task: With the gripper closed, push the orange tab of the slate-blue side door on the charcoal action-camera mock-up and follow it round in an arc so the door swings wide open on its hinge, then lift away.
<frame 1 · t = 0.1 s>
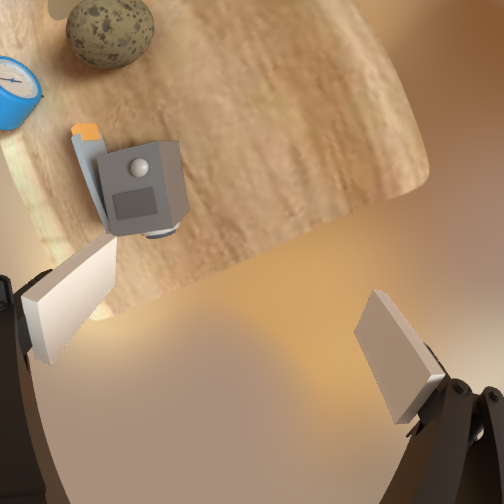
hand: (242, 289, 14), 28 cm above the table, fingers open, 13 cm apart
alarm clock: (30, 93, 34), on the table
camera body: (156, 180, 40), on the table
decorative egg: (131, 44, 32), on the table
side door: (101, 178, 36), point 4 cm above the table, hinge at 12.0°
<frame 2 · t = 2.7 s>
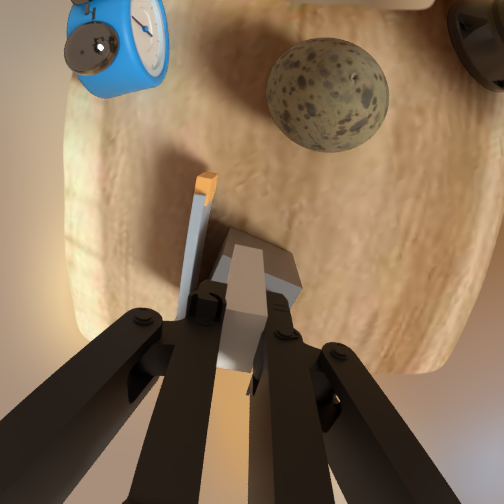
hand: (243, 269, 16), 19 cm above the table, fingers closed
alarm clock: (146, 51, 27), on the table
camera body: (244, 275, 37), on the table
decorative egg: (312, 104, 30), on the table
side door: (195, 249, 32), point 4 cm above the table, hinge at 12.0°
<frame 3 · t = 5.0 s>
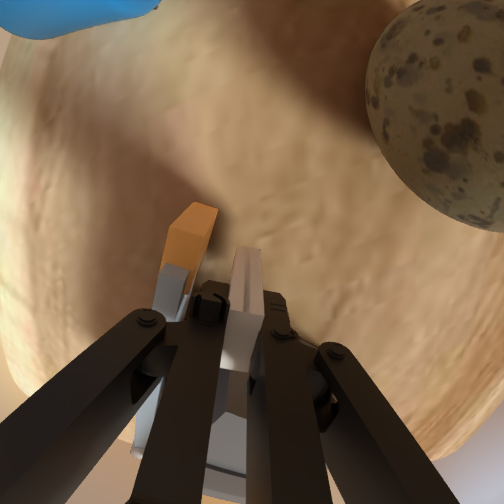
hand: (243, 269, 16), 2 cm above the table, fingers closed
camera body: (246, 374, 22), on the table
decorative egg: (412, 113, 15), on the table
side door: (164, 348, 16), point 4 cm above the table, hinge at 14.2°, touching gripper
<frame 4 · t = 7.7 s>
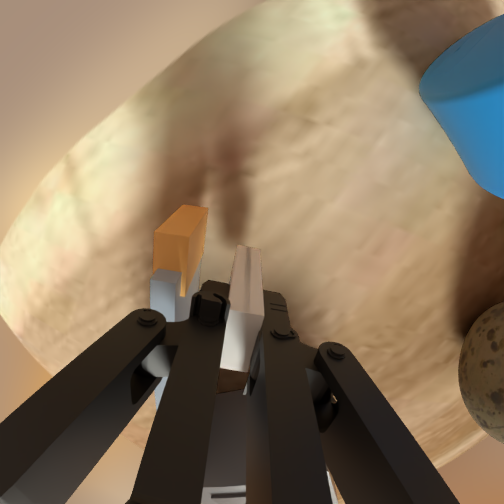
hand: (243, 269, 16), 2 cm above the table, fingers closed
alarm clock: (459, 89, 14), on the table
camera body: (261, 415, 24), on the table
decorative egg: (479, 326, 21), on the table
side door: (177, 354, 16), point 4 cm above the table, hinge at 63.9°, touching gripper
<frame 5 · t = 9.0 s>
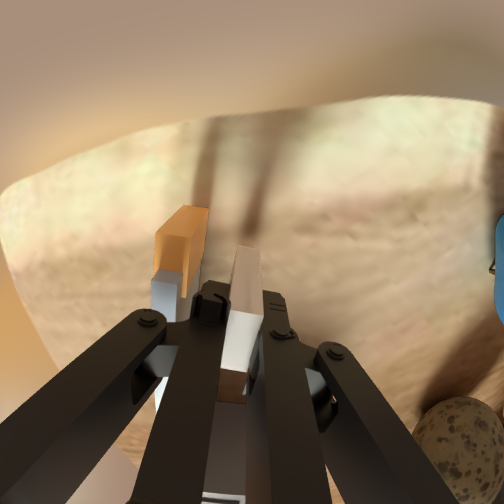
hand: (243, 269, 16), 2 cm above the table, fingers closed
camera body: (239, 428, 24), on the table
decorative egg: (435, 408, 25), on the table
side door: (177, 354, 16), point 4 cm above the table, hinge at 87.8°, touching gripper
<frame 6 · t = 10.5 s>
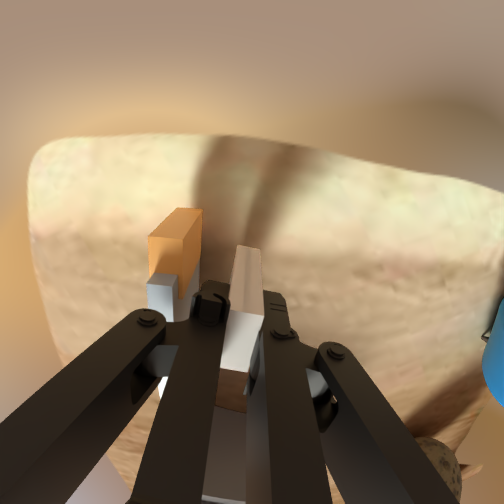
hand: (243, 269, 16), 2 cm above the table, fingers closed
camera body: (230, 434, 25), on the table
decorative egg: (401, 443, 28), on the table
side door: (181, 357, 16), point 4 cm above the table, hinge at 107.2°, touching gripper
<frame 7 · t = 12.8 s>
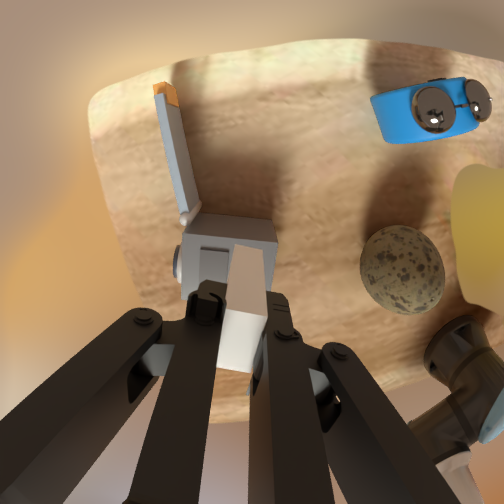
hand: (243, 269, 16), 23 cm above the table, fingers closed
alarm clock: (399, 110, 34), on the table
camera body: (231, 244, 40), on the table
decorative egg: (380, 249, 41), on the table
side door: (177, 151, 32), point 4 cm above the table, hinge at 107.1°
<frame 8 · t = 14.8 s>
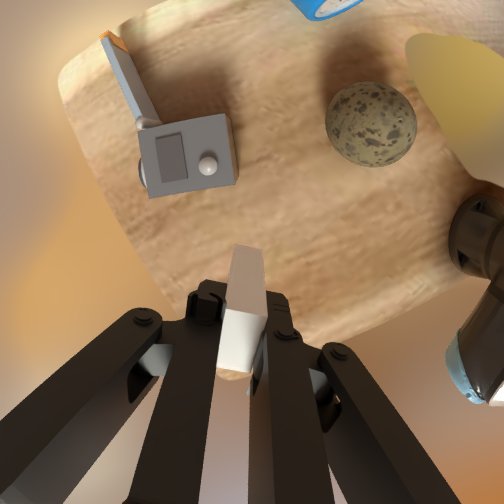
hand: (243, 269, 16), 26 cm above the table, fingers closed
alarm clock: (323, 2, 31), on the table
camera body: (199, 153, 39), on the table
decorative egg: (352, 126, 38), on the table
side door: (129, 79, 32), point 4 cm above the table, hinge at 107.1°
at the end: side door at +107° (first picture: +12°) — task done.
